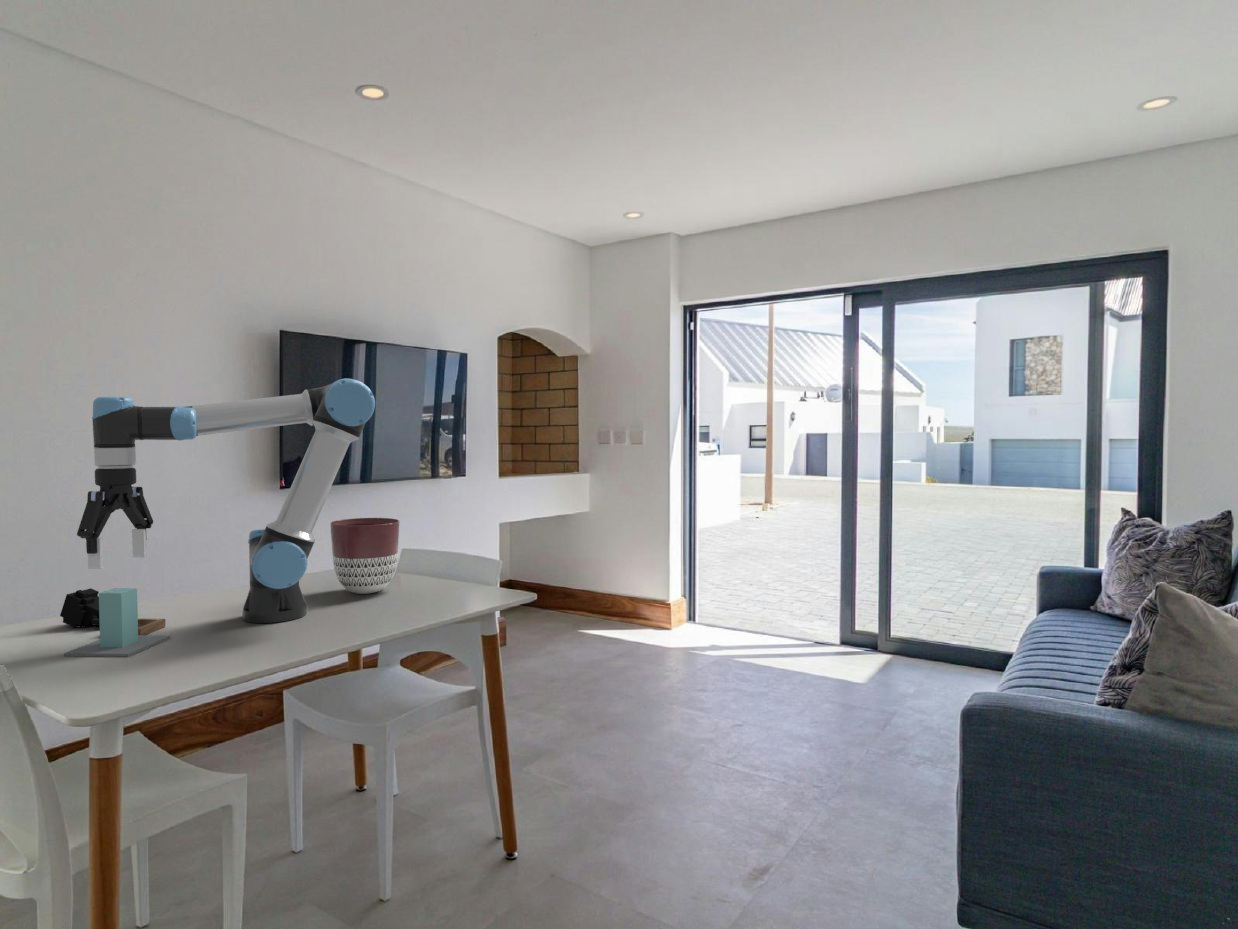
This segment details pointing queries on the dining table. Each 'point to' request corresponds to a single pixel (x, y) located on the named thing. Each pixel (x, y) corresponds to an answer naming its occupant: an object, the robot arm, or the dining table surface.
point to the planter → (365, 552)
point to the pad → (126, 651)
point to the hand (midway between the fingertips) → (118, 562)
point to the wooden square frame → (149, 625)
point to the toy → (81, 608)
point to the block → (118, 617)
